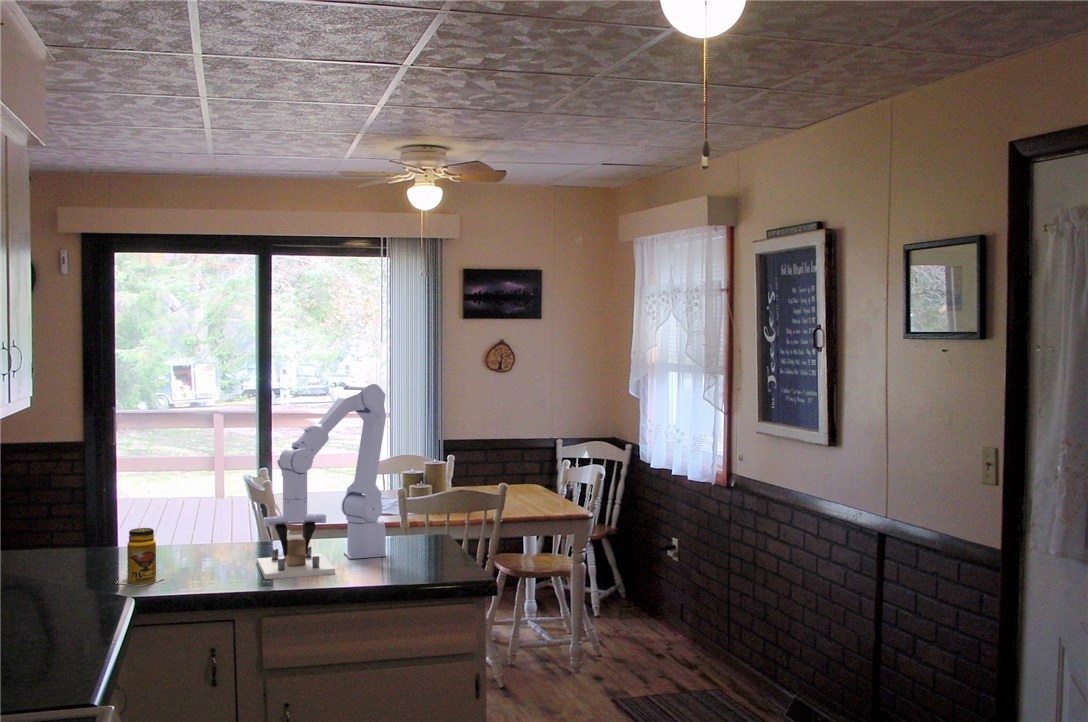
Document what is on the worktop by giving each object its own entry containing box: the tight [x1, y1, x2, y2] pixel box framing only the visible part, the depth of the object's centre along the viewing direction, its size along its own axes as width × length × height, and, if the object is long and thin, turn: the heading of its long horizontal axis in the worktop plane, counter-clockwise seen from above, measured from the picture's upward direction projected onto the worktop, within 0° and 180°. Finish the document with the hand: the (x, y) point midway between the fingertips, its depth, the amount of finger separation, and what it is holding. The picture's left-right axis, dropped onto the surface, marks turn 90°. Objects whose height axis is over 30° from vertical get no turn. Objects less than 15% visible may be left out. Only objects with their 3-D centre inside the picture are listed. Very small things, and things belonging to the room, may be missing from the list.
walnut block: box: [283, 534, 306, 566], centre depth 246 cm, size 4×8×6 cm, turn 22°
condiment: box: [116, 527, 165, 587], centre depth 231 cm, size 7×8×12 cm
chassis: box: [256, 546, 336, 580], centre depth 245 cm, size 16×18×4 cm
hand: (295, 554), depth 245 cm, fingers closed on walnut block, 4 cm apart
